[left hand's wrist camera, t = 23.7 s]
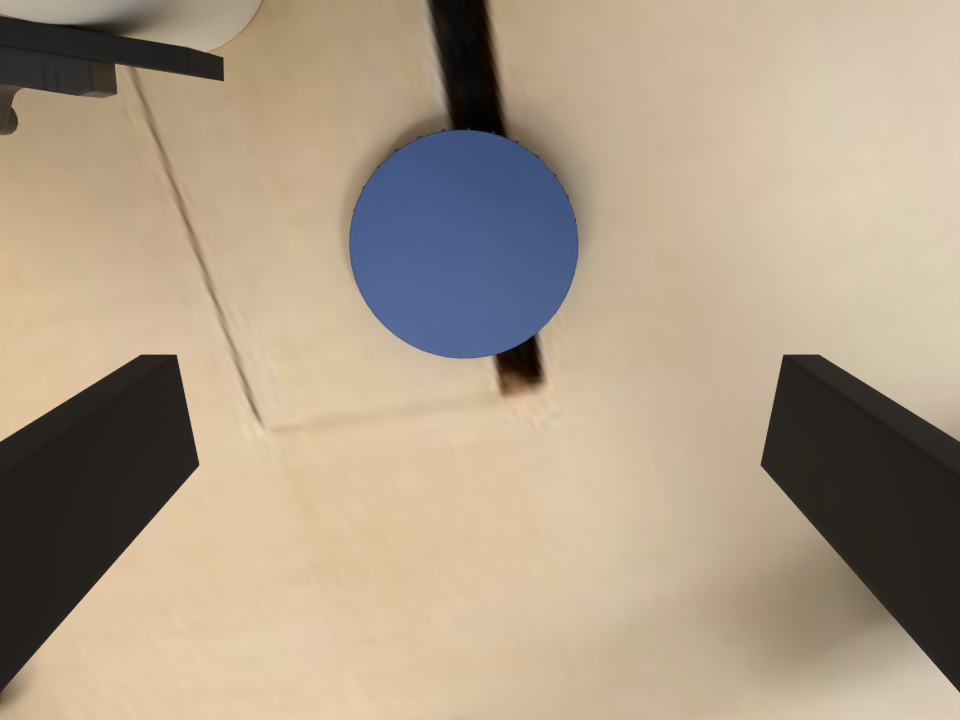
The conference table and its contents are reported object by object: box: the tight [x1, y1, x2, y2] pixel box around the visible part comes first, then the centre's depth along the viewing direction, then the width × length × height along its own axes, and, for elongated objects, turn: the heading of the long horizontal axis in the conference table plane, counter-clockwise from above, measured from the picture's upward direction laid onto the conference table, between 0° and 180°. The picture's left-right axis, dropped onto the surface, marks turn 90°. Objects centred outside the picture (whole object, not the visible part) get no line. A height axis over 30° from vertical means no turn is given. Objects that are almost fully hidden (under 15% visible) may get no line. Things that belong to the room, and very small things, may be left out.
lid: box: [349, 128, 578, 359], centre depth 27 cm, size 11×11×2 cm
